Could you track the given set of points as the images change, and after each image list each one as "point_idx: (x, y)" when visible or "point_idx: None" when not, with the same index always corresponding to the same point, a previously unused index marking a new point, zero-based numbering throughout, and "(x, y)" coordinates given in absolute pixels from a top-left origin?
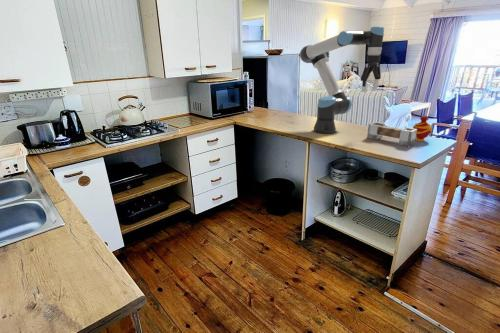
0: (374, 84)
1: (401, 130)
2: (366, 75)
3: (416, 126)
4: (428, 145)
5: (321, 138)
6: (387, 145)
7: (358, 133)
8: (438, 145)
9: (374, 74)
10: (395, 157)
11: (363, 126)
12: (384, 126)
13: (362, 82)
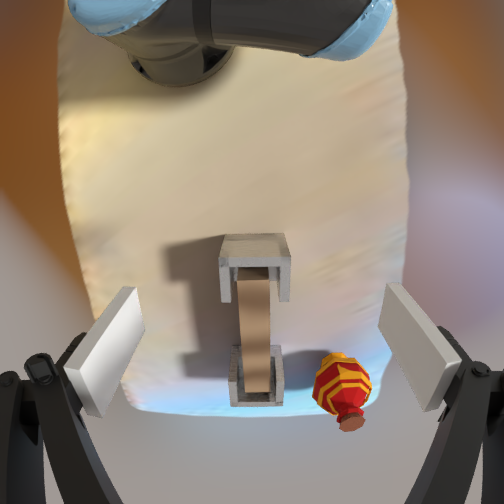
0: (409, 333)
1: (228, 381)
2: (38, 466)
3: (324, 390)
4: (290, 393)
5: (81, 117)
6: (194, 328)
7: (267, 167)
8: (309, 404)
9: (439, 451)
10: None
11: (403, 121)
12: (262, 310)
13: (74, 351)
